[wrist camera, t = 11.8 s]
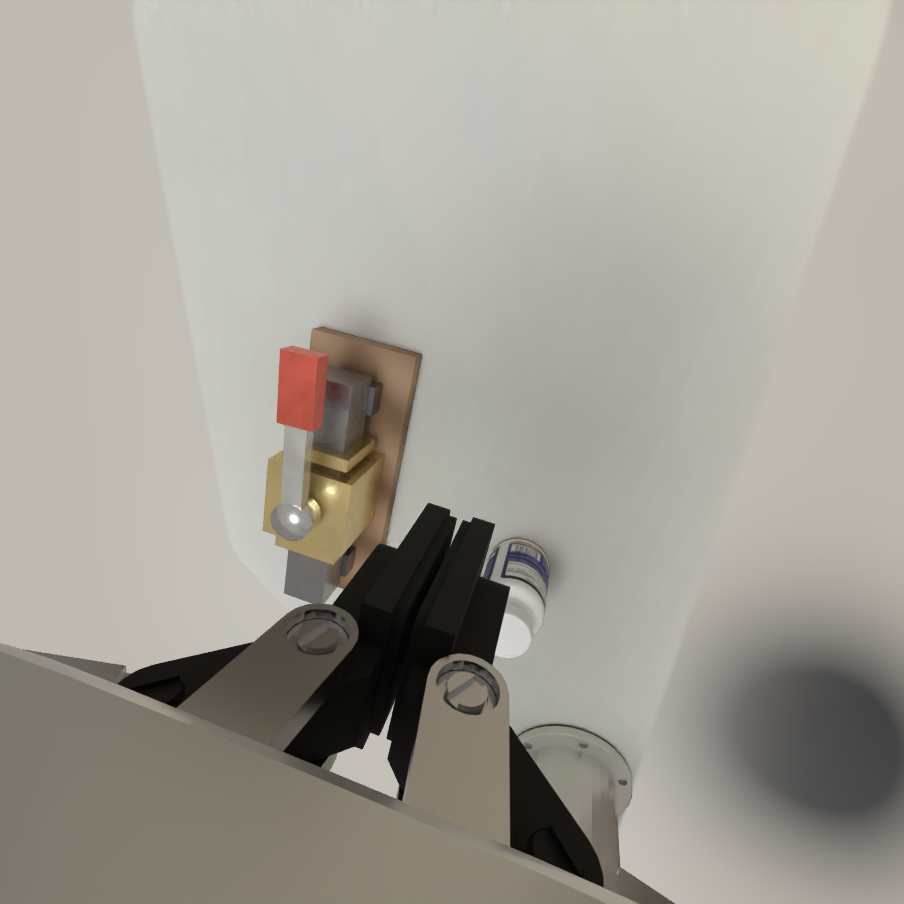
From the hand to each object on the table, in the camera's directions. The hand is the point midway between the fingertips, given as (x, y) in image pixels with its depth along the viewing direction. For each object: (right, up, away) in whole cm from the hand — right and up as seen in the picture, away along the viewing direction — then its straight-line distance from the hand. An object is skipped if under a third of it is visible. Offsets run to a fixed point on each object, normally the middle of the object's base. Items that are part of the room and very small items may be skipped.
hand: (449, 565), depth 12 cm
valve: (-10, +1, +33) cm, 34 cm away
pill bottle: (+6, -7, +33) cm, 35 cm away
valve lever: (-10, +3, +24) cm, 26 cm away
